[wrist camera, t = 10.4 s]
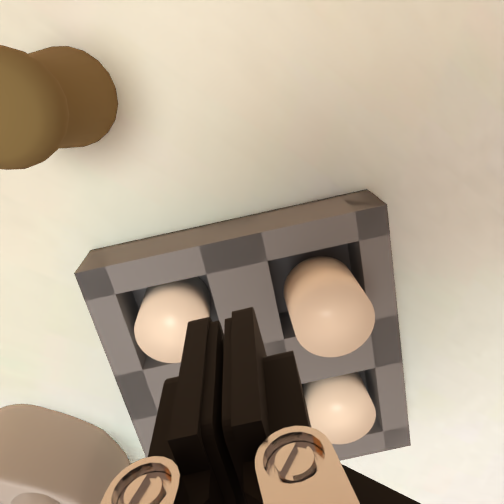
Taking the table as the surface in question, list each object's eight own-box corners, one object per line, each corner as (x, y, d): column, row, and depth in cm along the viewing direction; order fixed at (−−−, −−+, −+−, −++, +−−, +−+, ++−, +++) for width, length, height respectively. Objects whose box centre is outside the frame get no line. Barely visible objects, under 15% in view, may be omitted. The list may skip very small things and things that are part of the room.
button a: (349, 249, 30) (370, 277, 26) (358, 312, 32) (379, 347, 28) (277, 264, 30) (287, 295, 26) (290, 326, 32) (300, 364, 28)
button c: (201, 264, 33) (199, 291, 29) (216, 321, 35) (216, 354, 30) (135, 278, 33) (124, 307, 29) (154, 334, 35) (146, 369, 30)
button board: (367, 189, 32) (386, 204, 28) (392, 410, 40) (410, 445, 36) (90, 250, 32) (74, 273, 29) (167, 459, 40) (162, 498, 36)
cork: (131, 73, 28) (83, 74, 18) (99, 162, 30) (40, 208, 20) (33, 27, 27) (-77, -1, 17) (6, 123, 29) (-108, 150, 19)
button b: (354, 349, 36) (372, 385, 32) (361, 397, 38) (379, 436, 34) (295, 362, 36) (305, 399, 32) (305, 409, 38) (316, 450, 34)
